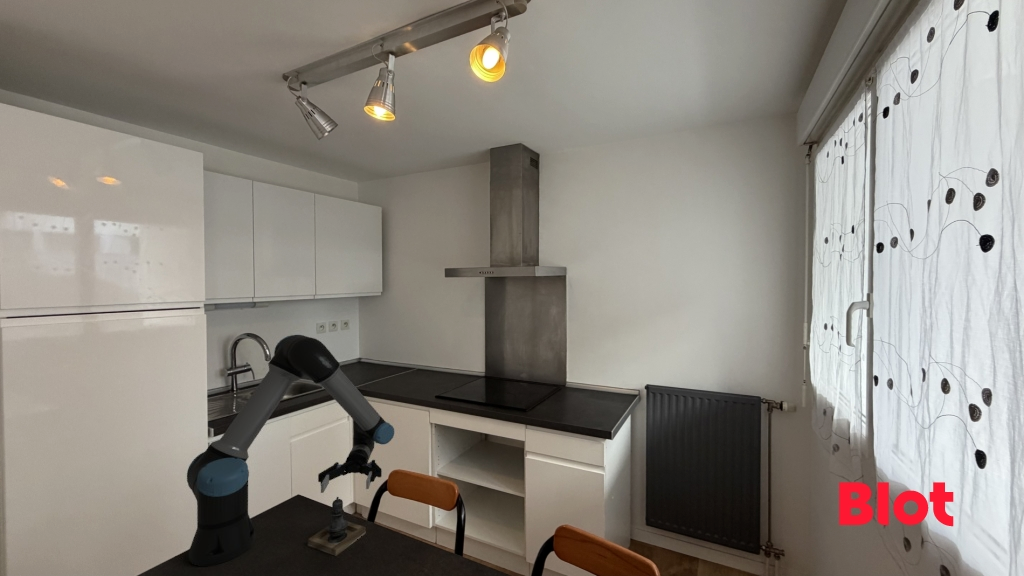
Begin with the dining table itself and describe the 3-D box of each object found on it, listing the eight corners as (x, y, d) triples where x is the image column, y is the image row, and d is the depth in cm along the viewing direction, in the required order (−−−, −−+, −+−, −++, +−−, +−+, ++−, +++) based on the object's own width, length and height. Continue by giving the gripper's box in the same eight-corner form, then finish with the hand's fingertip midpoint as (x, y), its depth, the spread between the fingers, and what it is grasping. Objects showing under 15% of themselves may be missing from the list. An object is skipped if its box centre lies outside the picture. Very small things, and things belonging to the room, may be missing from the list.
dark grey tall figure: (339, 545, 111) (340, 503, 111) (321, 542, 113) (322, 500, 113) (352, 532, 117) (352, 492, 117) (335, 530, 118) (335, 490, 118)
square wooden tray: (307, 545, 112) (307, 539, 112) (338, 524, 122) (338, 518, 122) (335, 556, 107) (335, 549, 107) (365, 533, 118) (365, 527, 118)
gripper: (392, 466, 148) (385, 494, 127) (322, 471, 143) (302, 502, 122) (393, 446, 148) (385, 471, 127) (322, 451, 143) (302, 478, 122)
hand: (344, 486), depth 125 cm, fingers open, 13 cm apart
